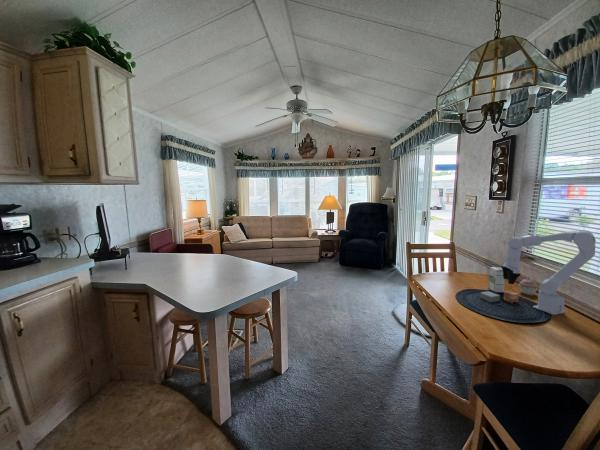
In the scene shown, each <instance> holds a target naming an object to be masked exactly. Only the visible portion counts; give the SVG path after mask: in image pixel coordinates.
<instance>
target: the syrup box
mask: <svg viewBox="0 0 600 450" xmlns="http://www.w3.org/2000/svg"><path fill="white" fill-rule="evenodd" d="M488 278H489V279H488V290H490V291H491V292H493V293H504V292H505V280H506V279H504V278H503V270H502V267H501V266H490V267H489V277H488Z"/></svg>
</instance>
